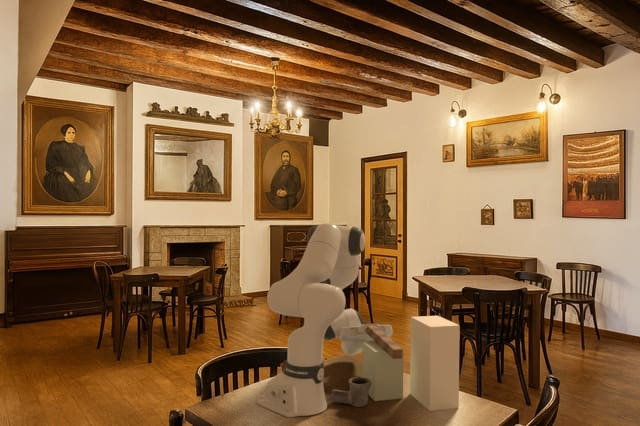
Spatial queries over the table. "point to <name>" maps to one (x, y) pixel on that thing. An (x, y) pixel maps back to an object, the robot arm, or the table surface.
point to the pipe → (353, 392)
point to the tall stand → (434, 362)
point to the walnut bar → (384, 341)
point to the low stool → (382, 372)
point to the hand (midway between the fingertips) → (371, 326)
